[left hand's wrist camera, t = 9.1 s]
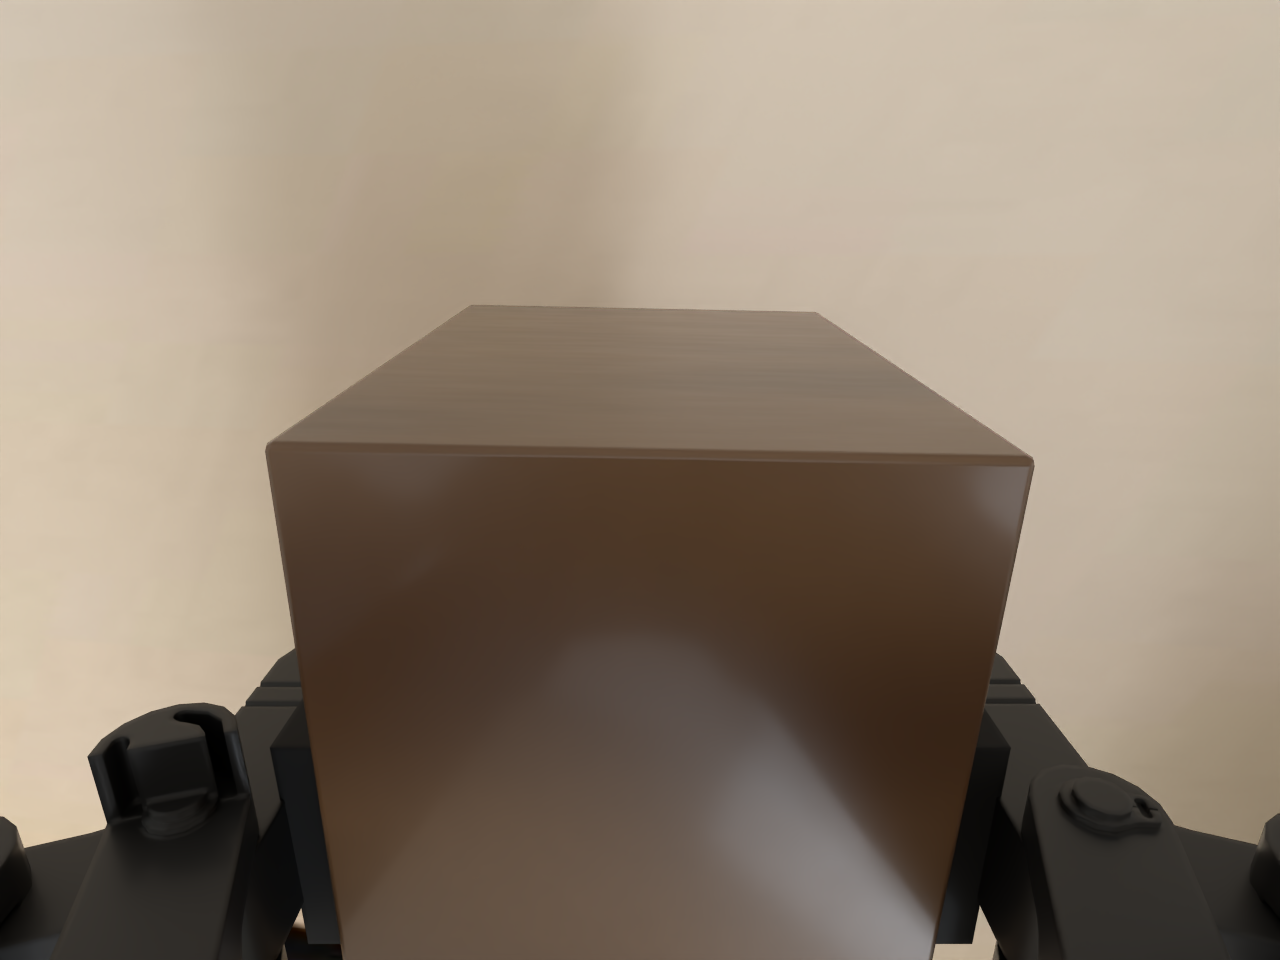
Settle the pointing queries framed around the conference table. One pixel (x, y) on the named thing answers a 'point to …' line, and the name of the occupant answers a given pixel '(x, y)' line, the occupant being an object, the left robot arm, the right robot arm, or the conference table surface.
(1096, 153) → the conference table surface
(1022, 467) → the post
